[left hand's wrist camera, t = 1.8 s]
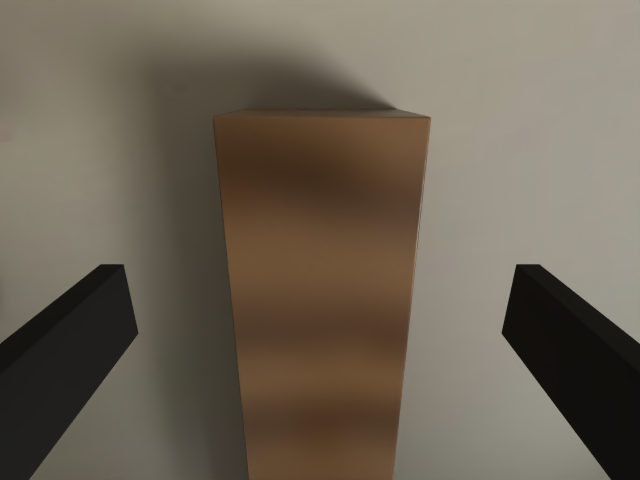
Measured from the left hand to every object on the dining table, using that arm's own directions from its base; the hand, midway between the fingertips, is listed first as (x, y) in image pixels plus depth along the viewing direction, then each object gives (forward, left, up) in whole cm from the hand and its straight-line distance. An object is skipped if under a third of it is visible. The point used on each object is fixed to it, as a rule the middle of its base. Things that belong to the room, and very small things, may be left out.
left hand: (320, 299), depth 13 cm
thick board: (+2, -19, -12) cm, 23 cm away
